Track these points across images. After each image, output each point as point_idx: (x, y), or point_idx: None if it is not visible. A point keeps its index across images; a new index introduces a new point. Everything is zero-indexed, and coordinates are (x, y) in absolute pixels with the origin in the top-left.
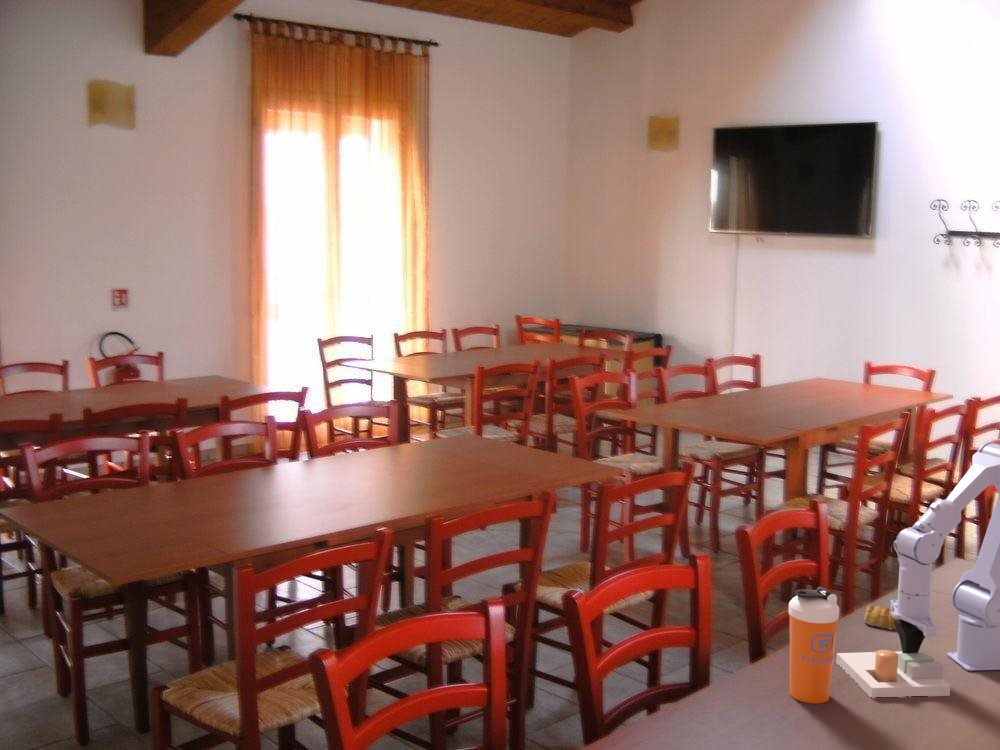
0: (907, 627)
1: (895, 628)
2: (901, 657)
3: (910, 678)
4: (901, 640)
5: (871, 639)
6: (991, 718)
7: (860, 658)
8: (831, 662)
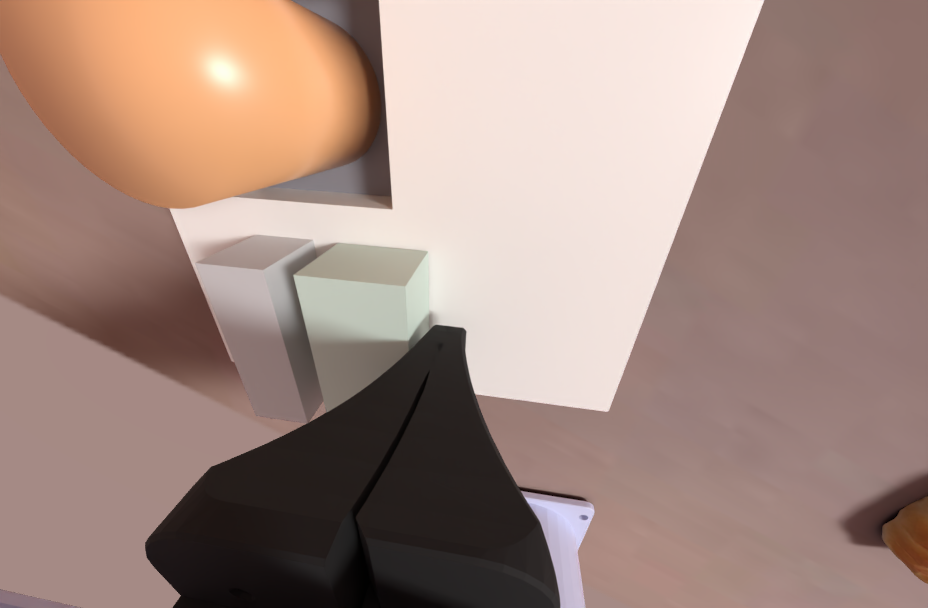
0: (178, 566)
1: (926, 505)
2: (344, 278)
3: (267, 236)
4: (442, 392)
5: (924, 362)
6: (124, 356)
7: (611, 42)
8: None
